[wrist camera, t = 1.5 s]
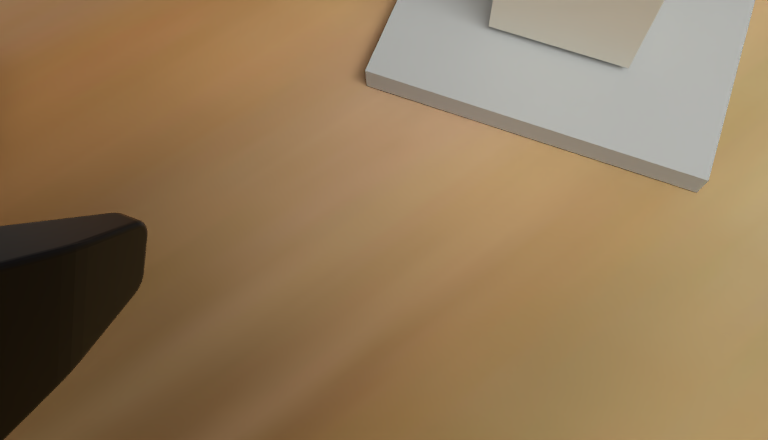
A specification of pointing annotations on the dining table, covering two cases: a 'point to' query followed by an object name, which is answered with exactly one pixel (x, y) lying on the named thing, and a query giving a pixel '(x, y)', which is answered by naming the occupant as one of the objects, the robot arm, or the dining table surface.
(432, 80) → the socket
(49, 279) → the robot arm
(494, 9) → the beige block
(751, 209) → the dining table surface
